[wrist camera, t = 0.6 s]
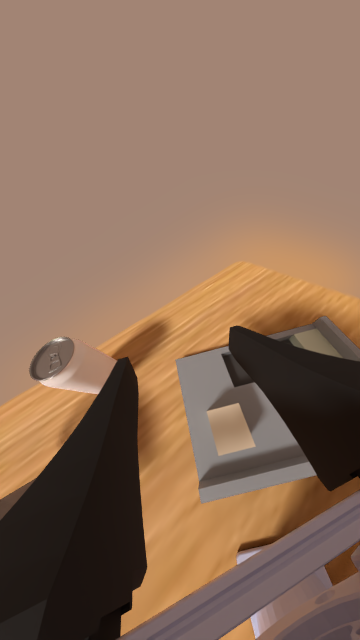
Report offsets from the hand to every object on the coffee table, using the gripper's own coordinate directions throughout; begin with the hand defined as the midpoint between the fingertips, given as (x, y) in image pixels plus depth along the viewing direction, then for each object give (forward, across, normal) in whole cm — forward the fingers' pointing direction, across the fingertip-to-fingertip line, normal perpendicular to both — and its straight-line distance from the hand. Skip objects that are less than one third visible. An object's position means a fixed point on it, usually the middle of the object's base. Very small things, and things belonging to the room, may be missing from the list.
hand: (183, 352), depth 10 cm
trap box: (+3, -13, +16) cm, 20 cm away
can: (+15, +13, +15) cm, 25 cm away
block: (+1, -4, +16) cm, 16 cm away
